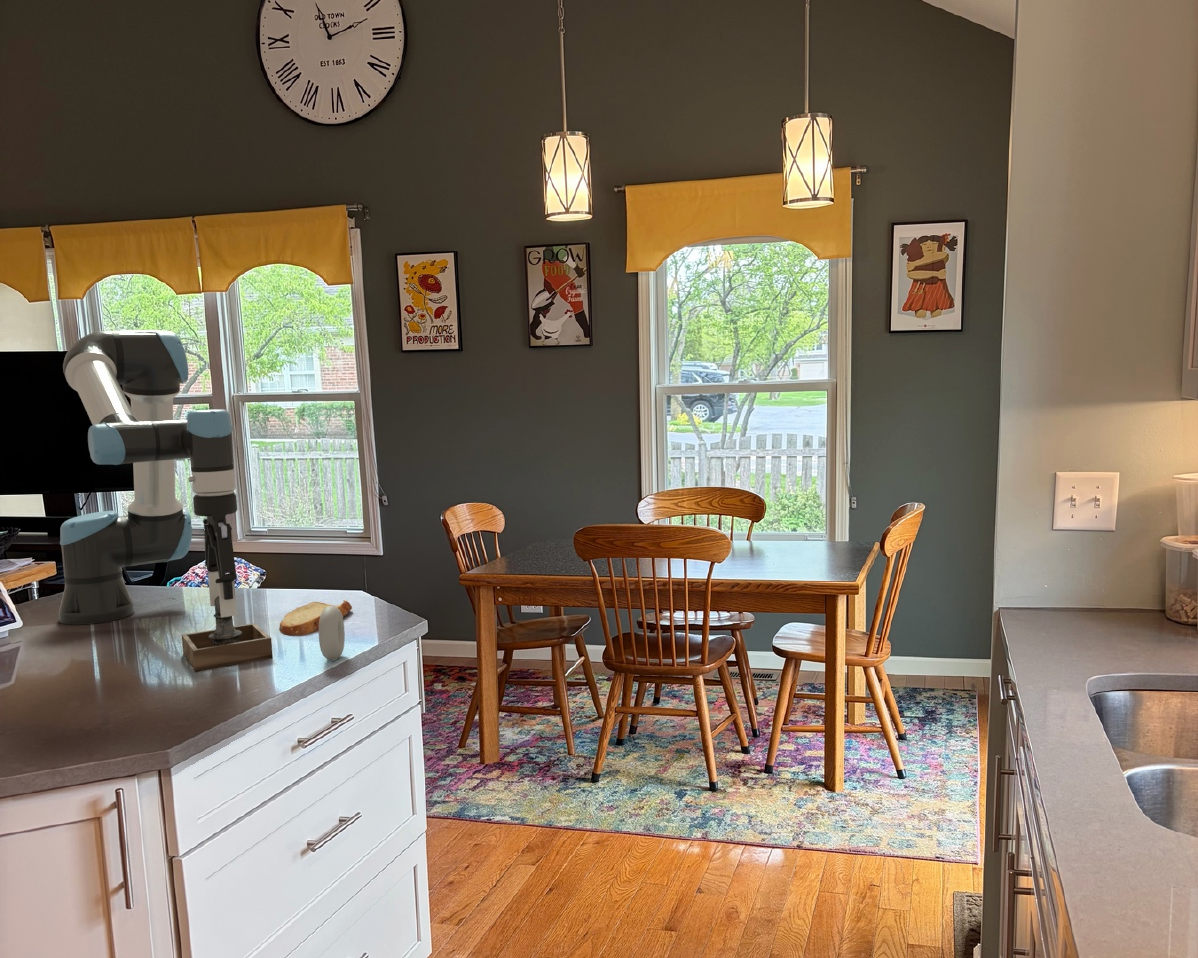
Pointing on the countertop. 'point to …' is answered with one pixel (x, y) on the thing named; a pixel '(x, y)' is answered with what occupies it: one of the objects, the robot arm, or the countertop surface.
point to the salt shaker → (223, 628)
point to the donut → (331, 633)
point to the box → (226, 649)
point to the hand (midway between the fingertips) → (223, 610)
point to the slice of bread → (307, 618)
